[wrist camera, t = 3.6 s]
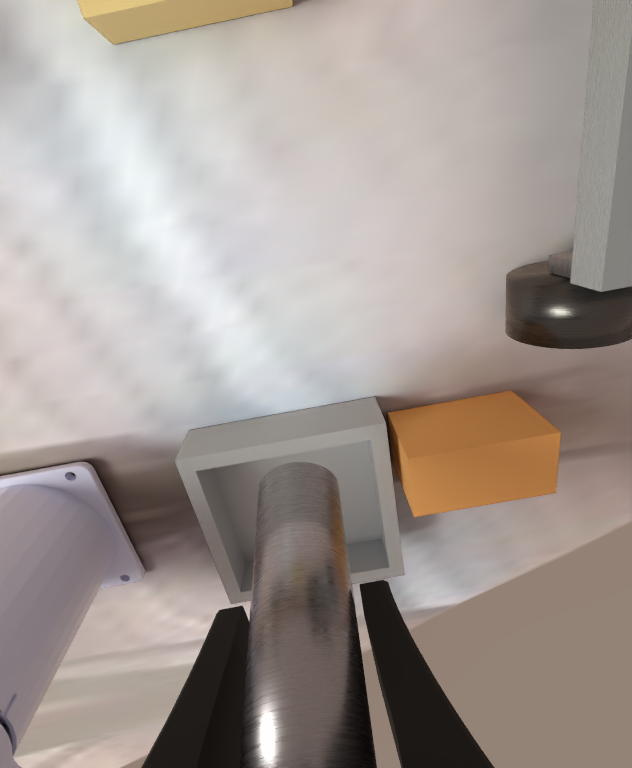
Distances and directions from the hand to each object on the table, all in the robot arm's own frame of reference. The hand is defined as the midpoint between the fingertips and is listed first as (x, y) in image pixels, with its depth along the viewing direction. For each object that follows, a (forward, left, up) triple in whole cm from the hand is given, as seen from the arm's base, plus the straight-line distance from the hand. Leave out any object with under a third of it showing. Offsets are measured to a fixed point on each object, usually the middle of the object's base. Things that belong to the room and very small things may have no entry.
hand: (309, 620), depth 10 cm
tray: (-1, -4, -10) cm, 11 cm away
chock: (+7, -2, -10) cm, 12 cm away
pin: (0, +2, -3) cm, 3 cm away
